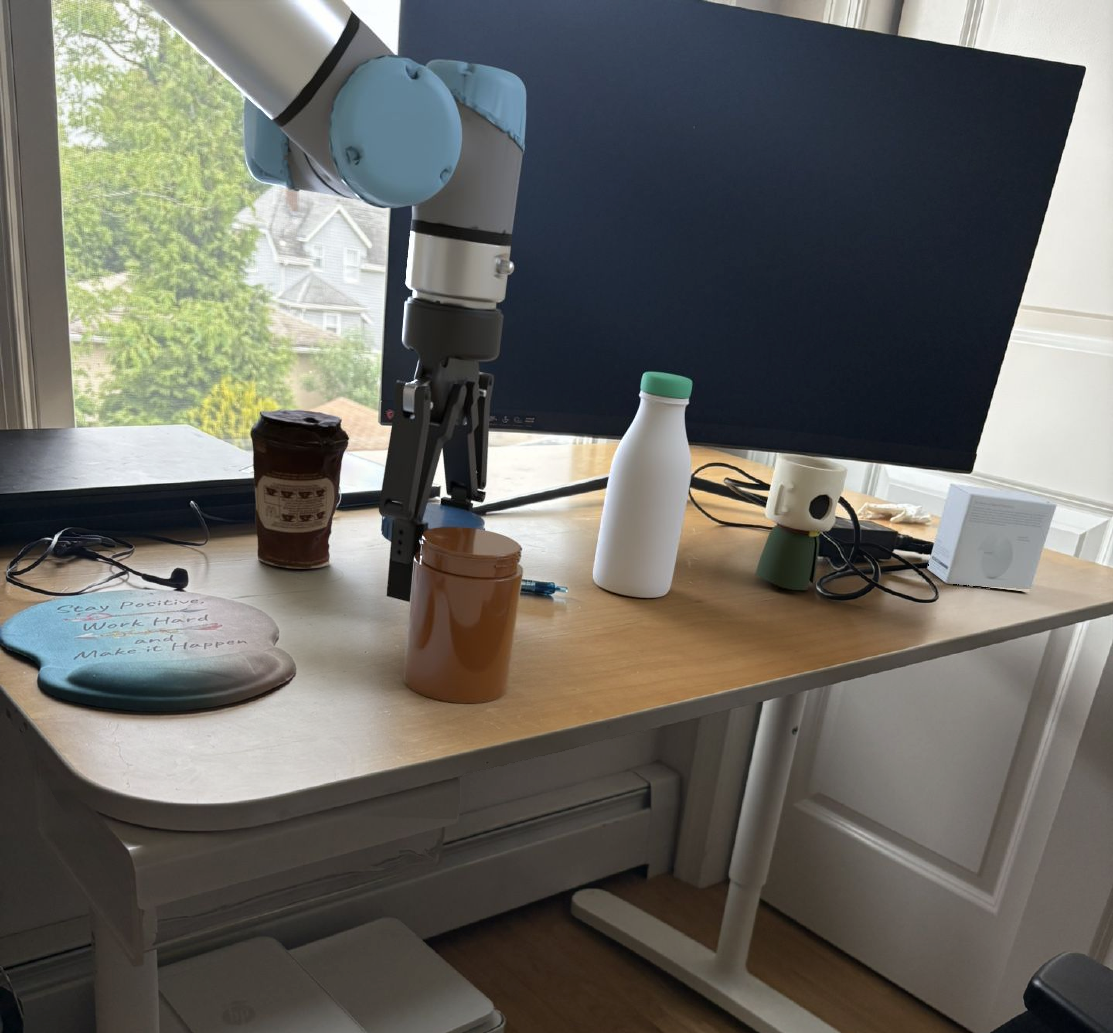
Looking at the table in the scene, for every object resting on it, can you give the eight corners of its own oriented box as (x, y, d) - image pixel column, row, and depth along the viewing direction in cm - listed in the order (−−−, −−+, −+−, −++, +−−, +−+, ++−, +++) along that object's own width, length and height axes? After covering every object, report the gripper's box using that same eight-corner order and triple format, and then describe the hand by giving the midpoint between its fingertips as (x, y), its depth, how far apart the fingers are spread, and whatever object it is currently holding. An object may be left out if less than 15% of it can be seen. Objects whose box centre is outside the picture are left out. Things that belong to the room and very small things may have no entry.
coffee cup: (345, 579, 100) (355, 430, 95) (247, 573, 98) (252, 420, 92) (335, 550, 108) (345, 410, 102) (245, 544, 105) (249, 400, 100)
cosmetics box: (1006, 578, 137) (1034, 492, 133) (1030, 594, 131) (1060, 505, 127) (924, 567, 136) (949, 480, 132) (944, 584, 130) (972, 493, 126)
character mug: (785, 603, 113) (816, 473, 108) (726, 582, 117) (753, 456, 112) (837, 589, 121) (869, 467, 116) (780, 569, 125) (808, 451, 120)
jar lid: (458, 560, 89) (460, 537, 88) (362, 537, 91) (364, 514, 90) (498, 539, 97) (500, 517, 96) (409, 518, 99) (411, 496, 98)
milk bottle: (673, 604, 108) (715, 387, 99) (592, 593, 107) (628, 374, 99) (665, 580, 115) (704, 376, 106) (589, 570, 114) (623, 363, 106)
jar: (406, 700, 78) (420, 551, 74) (399, 659, 85) (412, 520, 81) (514, 706, 80) (534, 561, 76) (499, 665, 87) (517, 530, 82)
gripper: (442, 311, 76) (412, 630, 86) (548, 305, 94) (513, 568, 104) (343, 293, 78) (324, 607, 87) (465, 290, 96) (439, 550, 106)
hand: (427, 585), depth 96 cm, fingers closed on jar lid, 8 cm apart
